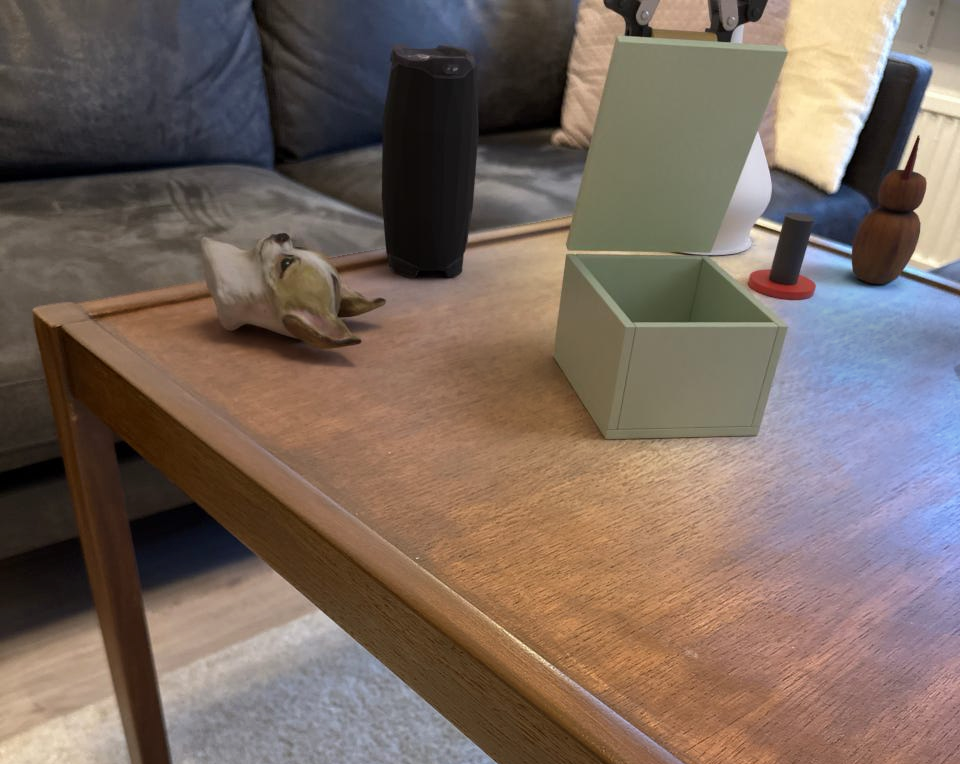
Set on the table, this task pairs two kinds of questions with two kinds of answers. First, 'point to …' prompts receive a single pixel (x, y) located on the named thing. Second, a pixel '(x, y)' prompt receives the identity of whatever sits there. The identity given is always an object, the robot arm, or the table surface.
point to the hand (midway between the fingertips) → (670, 84)
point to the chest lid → (671, 141)
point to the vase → (744, 196)
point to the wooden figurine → (890, 226)
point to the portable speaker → (429, 158)
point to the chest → (665, 346)
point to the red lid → (787, 262)
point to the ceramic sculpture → (282, 291)
